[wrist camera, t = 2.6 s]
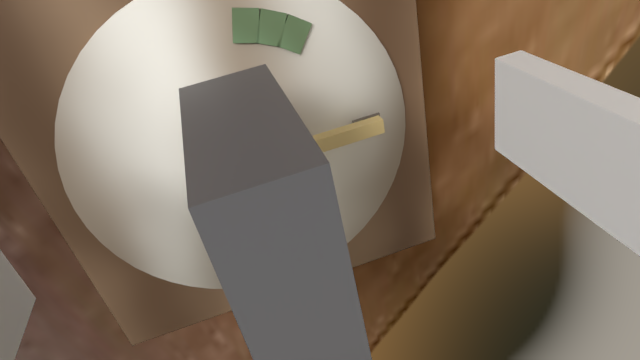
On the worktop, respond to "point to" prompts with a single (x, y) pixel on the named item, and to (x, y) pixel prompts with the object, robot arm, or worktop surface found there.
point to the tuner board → (166, 130)
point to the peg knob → (273, 216)
